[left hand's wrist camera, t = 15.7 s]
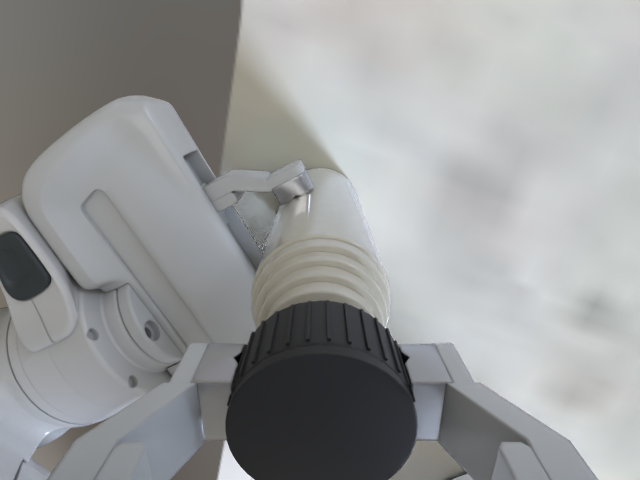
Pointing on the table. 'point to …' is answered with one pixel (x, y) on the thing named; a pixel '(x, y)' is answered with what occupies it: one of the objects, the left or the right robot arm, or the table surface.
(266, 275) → the bottle
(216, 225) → the right robot arm
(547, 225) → the table surface
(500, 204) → the table surface
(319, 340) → the cap
